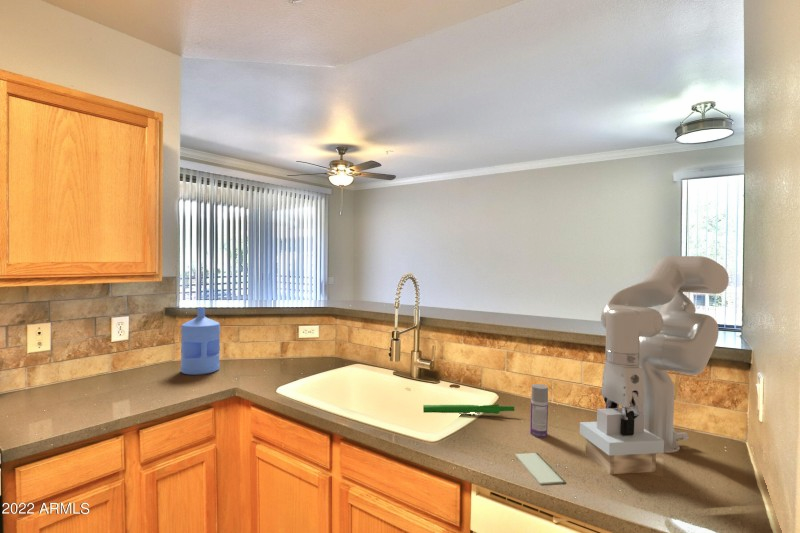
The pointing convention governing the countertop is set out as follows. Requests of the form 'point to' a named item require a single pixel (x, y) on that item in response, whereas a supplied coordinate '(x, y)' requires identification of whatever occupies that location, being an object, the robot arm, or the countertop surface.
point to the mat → (539, 468)
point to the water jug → (200, 345)
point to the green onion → (466, 409)
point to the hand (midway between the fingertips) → (619, 429)
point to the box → (621, 461)
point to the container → (539, 410)
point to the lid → (613, 441)
